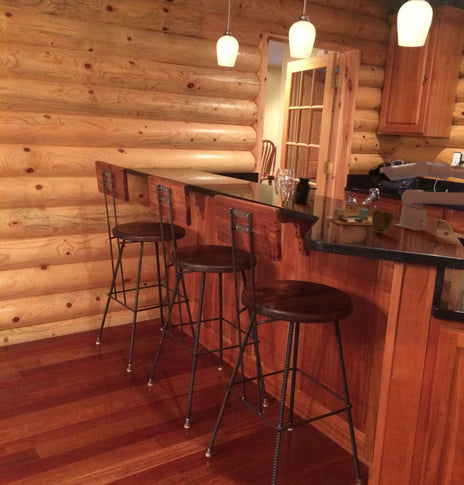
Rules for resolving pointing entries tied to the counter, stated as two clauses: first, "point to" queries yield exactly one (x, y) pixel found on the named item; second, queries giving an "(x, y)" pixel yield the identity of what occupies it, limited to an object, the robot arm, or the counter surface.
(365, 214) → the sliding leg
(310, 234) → the counter surface
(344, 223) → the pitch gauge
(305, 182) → the supplement bottle
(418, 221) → the robot arm
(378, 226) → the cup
